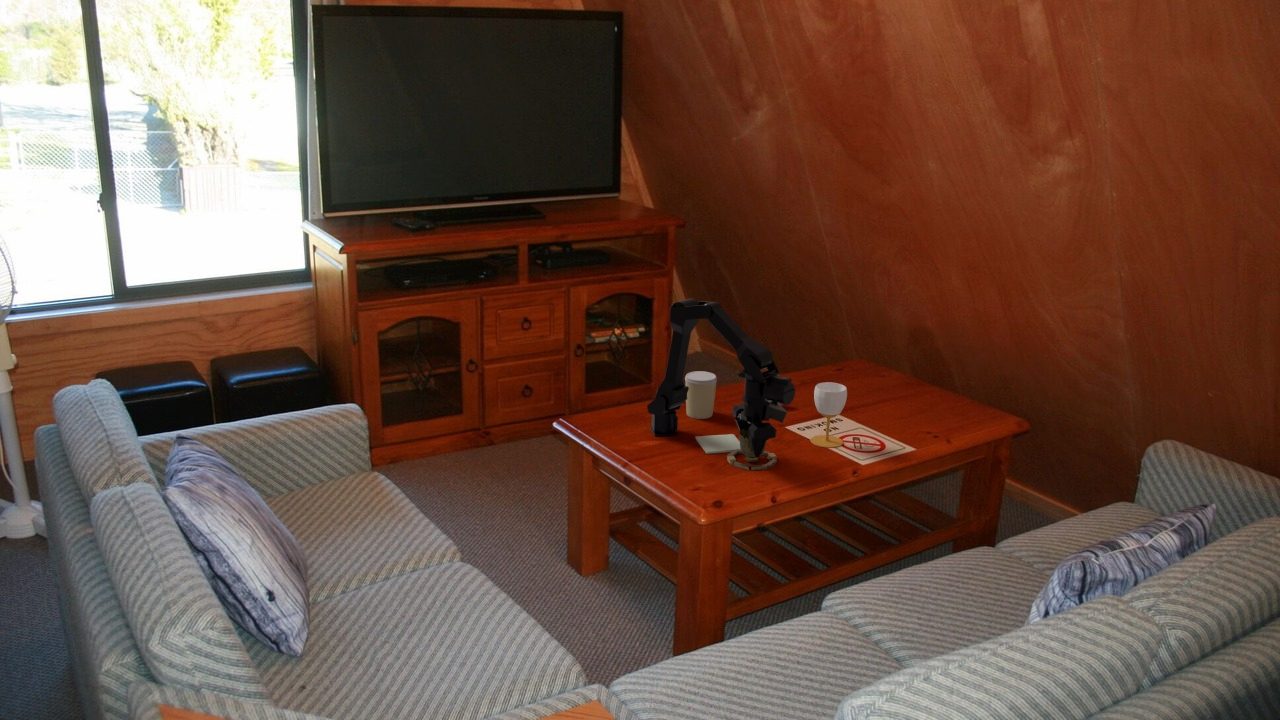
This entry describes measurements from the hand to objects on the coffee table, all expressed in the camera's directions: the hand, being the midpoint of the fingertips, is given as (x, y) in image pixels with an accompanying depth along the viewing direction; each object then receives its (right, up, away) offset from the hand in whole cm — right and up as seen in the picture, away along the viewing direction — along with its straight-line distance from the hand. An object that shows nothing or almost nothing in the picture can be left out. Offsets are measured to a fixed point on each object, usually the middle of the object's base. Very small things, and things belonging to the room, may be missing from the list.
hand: (752, 451), depth 276 cm
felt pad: (-8, +1, +11) cm, 13 cm away
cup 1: (0, -3, +1) cm, 3 cm away
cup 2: (+22, +1, +15) cm, 27 cm away
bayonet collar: (0, -2, +1) cm, 3 cm away
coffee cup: (-12, +8, +33) cm, 36 cm away
